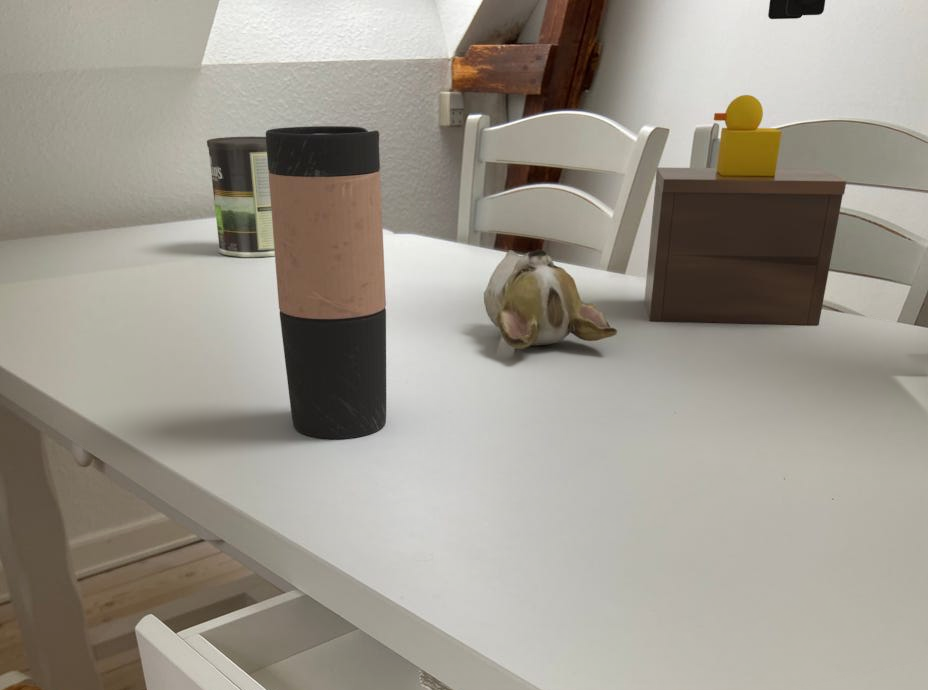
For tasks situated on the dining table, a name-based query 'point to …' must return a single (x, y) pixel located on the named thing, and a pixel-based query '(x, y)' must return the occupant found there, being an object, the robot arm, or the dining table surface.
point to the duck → (746, 140)
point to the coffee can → (242, 196)
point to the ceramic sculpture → (539, 303)
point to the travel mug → (330, 276)
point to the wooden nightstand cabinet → (741, 246)
